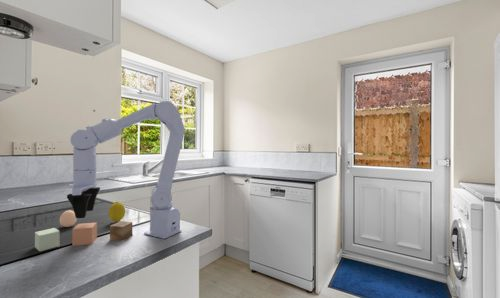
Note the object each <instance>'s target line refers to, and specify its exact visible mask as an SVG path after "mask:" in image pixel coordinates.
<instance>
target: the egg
mask: <svg viewBox="0 0 500 298" xmlns="http://www.w3.org/2000/svg"><path fill="white" fill-rule="evenodd" d="M77 220H78V218H76V217H75V213H74V210H71V209H69V210H65V211H64V212H63V213H61V215H60V217H59V224H60V226H62V227H65V228H70V227H72V226H74V225H75V224H76V222H77Z"/></svg>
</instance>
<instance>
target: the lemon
mask: <svg viewBox="0 0 500 298" xmlns="http://www.w3.org/2000/svg"><path fill="white" fill-rule="evenodd" d="M125 215H126V208H125V204H123V203H122V202H119V201H115V202H114V203H112V204H111V205H110V207H109V208H108V217H109V219H110V220H111V221H113V222H115V223H118V222H120V221H122V220H123V219H124V217H125Z"/></svg>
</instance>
